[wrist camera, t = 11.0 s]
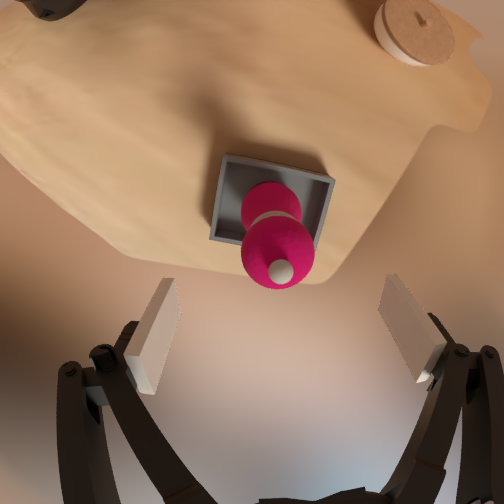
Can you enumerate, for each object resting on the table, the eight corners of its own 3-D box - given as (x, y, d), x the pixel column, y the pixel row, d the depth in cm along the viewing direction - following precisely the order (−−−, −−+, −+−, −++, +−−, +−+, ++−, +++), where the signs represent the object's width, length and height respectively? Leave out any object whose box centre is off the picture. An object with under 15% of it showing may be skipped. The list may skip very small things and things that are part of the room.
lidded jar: (348, 32, 28) (373, 9, 19) (387, -2, 24) (415, -24, 15) (403, 85, 30) (439, 78, 22) (436, 48, 27) (472, 38, 18)
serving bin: (212, 230, 40) (209, 239, 37) (225, 153, 35) (222, 155, 32) (308, 248, 41) (312, 259, 38) (328, 175, 36) (335, 179, 33)
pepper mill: (272, 165, 35) (289, 204, 17) (307, 206, 38) (352, 280, 19) (231, 201, 38) (207, 273, 19) (266, 238, 40) (274, 334, 21)
